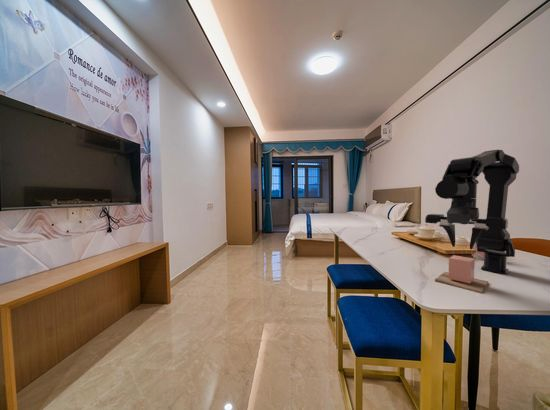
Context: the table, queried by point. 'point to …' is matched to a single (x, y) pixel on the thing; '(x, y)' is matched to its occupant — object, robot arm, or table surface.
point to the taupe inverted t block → (463, 283)
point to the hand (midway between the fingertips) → (462, 247)
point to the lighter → (478, 253)
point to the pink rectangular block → (461, 269)
